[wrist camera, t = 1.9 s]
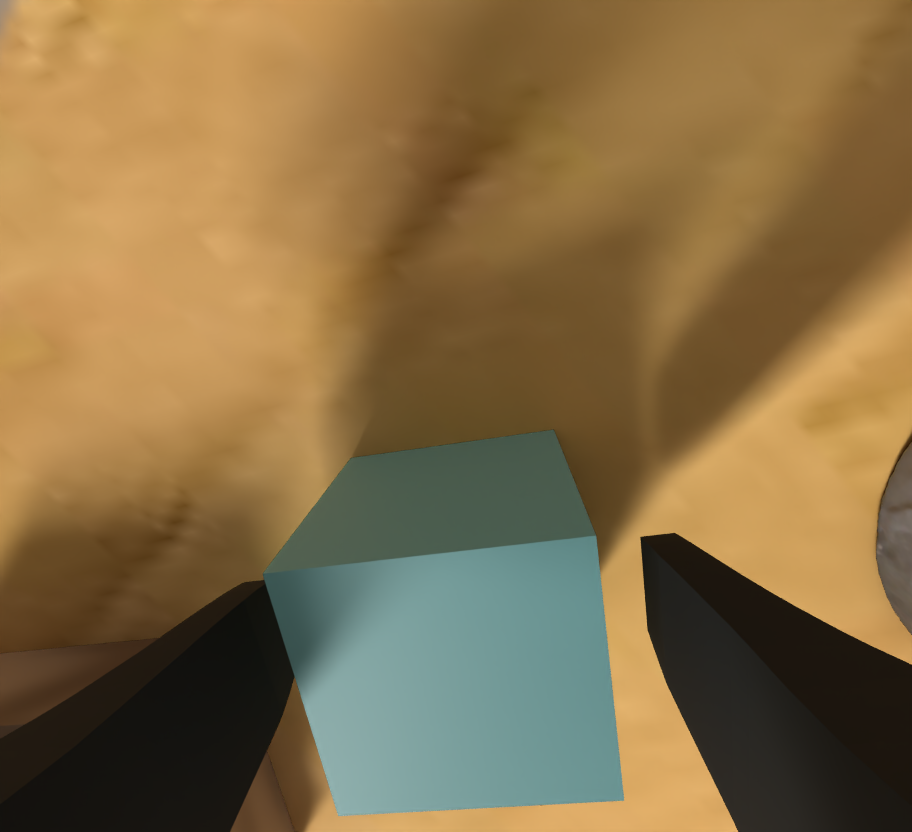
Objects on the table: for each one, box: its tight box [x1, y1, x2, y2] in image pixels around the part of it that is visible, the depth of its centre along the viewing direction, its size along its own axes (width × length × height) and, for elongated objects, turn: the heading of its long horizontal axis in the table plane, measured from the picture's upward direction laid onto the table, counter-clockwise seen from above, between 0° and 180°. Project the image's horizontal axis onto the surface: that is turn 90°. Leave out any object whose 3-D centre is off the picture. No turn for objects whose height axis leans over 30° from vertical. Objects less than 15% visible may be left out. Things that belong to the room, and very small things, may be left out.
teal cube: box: [263, 430, 624, 816], centre depth 10 cm, size 5×5×5 cm
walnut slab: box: [0, 638, 295, 832], centre depth 14 cm, size 8×8×3 cm
